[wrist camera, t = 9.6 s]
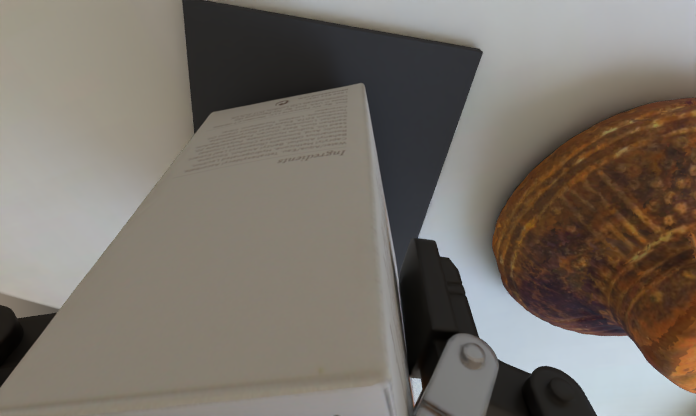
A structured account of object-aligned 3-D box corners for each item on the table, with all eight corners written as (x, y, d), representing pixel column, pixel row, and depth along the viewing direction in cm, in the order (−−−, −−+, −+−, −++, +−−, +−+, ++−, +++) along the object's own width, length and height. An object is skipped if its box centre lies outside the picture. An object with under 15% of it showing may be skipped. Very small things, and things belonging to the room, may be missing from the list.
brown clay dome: (437, 252, 19) (475, 399, 13) (665, 24, 12) (946, 102, 6) (596, 329, 22) (684, 474, 16) (837, 179, 16) (1128, 324, 10)
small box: (210, 108, 13) (-59, 422, 5) (367, 77, 12) (393, 382, 4) (278, 268, 18) (207, 575, 9) (396, 252, 17) (437, 568, 8)
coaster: (208, 260, 19) (206, 266, 19) (186, -4, 12) (181, -2, 12) (398, 284, 20) (399, 289, 20) (480, 49, 13) (483, 51, 13)
